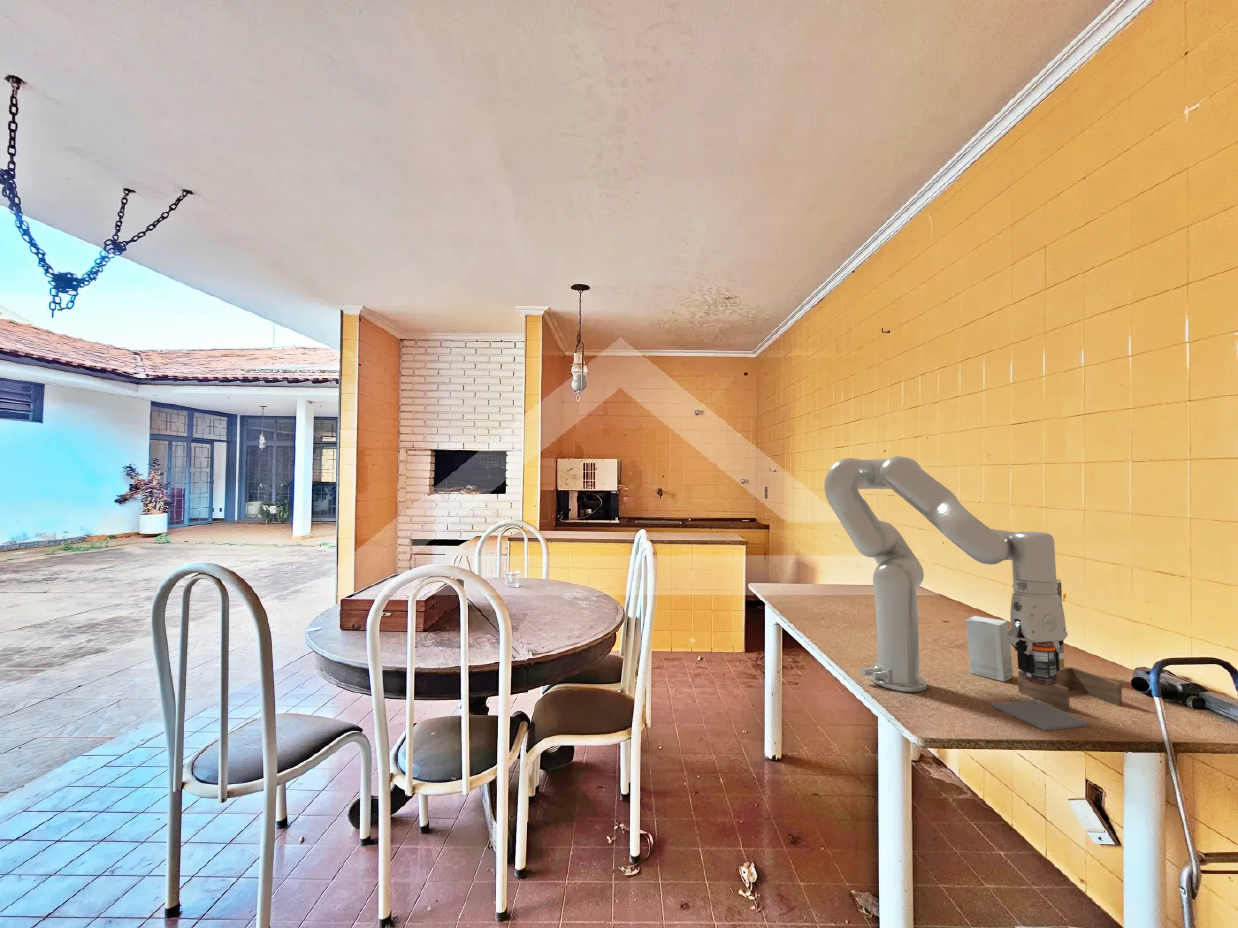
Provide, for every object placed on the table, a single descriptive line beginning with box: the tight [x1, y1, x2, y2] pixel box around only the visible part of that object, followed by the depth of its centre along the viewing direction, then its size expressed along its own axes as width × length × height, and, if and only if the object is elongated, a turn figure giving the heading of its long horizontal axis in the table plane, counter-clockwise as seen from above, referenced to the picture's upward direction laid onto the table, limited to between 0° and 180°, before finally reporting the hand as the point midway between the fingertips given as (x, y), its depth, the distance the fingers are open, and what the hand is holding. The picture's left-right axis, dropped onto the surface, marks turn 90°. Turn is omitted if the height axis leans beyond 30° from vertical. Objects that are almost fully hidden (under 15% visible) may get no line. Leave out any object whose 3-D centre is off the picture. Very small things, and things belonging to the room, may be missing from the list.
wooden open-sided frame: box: [1017, 666, 1123, 712], centre depth 120 cm, size 16×11×5 cm
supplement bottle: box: [1021, 637, 1057, 685], centre depth 112 cm, size 6×6×11 cm
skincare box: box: [965, 615, 1014, 682], centre depth 135 cm, size 8×6×15 cm
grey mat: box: [990, 699, 1092, 732], centre depth 111 cm, size 12×12×1 cm
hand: (1038, 669), depth 112 cm, fingers closed on supplement bottle, 6 cm apart
